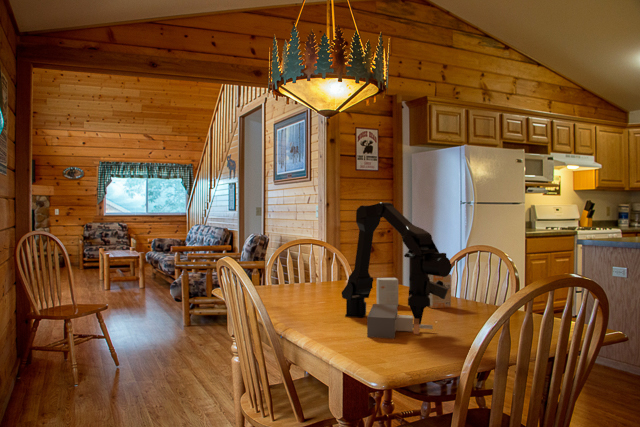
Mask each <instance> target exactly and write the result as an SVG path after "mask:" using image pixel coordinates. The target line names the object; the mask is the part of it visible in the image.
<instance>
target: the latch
mask: <svg viewBox="0 0 640 427" xmlns="http://www.w3.org/2000/svg"><path fill="white" fill-rule="evenodd" d="M413 324H414V328H413V334H414V335H419V334H420V328H419V319H417V318H414V317H413Z"/></svg>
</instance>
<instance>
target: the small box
mask: <svg viewBox="0 0 640 427" xmlns="http://www.w3.org/2000/svg"><path fill="white" fill-rule="evenodd" d="M376 304H387V305H397V307H398V306H399V279H398V278H397V277H376Z"/></svg>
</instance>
